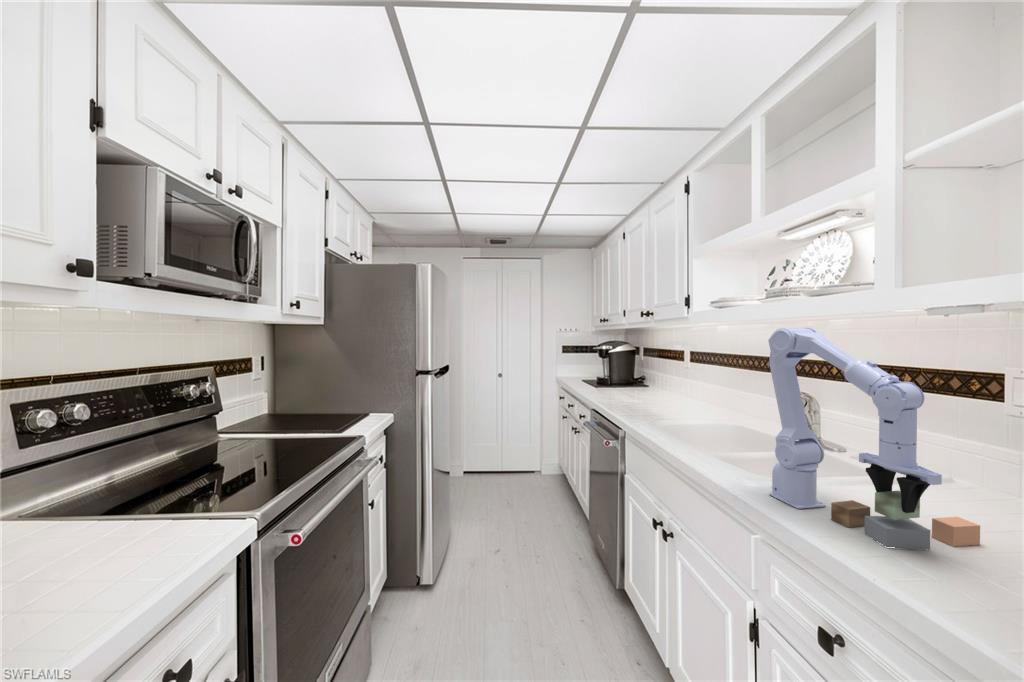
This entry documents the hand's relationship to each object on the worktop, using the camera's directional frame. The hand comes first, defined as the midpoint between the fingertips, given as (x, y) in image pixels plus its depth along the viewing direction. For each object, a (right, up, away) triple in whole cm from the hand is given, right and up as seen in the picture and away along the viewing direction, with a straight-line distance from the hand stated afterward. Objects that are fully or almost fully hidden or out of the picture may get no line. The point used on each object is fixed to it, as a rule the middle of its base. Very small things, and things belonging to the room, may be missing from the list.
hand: (896, 507), depth 87 cm
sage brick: (0, -2, 0) cm, 2 cm away
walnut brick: (-2, -7, +9) cm, 12 cm away
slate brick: (0, -7, 0) cm, 7 cm away
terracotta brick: (+12, -7, 0) cm, 14 cm away
